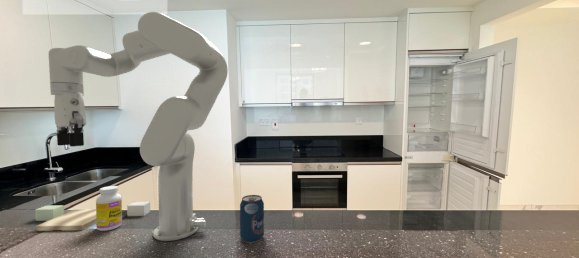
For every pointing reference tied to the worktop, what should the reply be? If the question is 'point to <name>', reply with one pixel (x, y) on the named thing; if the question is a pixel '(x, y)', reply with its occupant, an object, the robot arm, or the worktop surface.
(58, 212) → the green block
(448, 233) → the worktop surface
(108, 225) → the supplement bottle
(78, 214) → the birch board
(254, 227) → the soda can
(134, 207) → the white block
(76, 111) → the robot arm
